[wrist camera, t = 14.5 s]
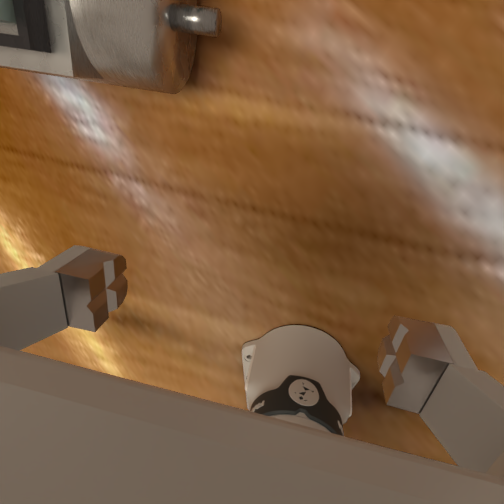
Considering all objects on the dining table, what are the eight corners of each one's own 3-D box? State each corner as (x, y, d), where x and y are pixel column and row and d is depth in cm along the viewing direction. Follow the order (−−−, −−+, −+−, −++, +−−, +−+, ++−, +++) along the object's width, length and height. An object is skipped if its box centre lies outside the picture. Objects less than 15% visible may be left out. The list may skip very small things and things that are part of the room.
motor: (231, 99, 36) (177, 102, 23) (26, 67, 39) (-132, 53, 25) (243, -39, 31) (181, -145, 17) (3, -63, 34) (-214, -171, 20)
